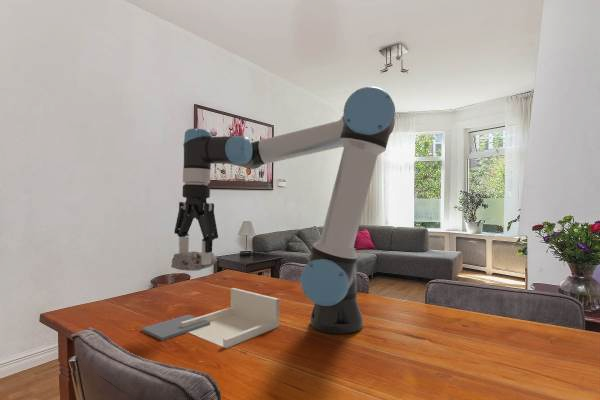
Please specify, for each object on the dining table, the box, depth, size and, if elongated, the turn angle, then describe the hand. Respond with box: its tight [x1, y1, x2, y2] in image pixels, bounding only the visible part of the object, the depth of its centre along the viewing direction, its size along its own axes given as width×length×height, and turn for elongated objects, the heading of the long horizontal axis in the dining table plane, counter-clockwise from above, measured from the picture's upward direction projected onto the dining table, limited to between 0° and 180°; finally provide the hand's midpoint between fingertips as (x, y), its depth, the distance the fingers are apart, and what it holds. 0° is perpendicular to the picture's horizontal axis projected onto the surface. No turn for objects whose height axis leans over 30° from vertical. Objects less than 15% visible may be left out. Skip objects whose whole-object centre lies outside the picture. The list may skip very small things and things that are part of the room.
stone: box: [170, 251, 218, 272], centre depth 100 cm, size 13×6×10 cm
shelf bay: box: [181, 287, 280, 349], centre depth 99 cm, size 20×19×8 cm
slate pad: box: [141, 314, 210, 341], centre depth 99 cm, size 11×15×1 cm
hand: (194, 261), depth 100 cm, fingers closed on stone, 11 cm apart
